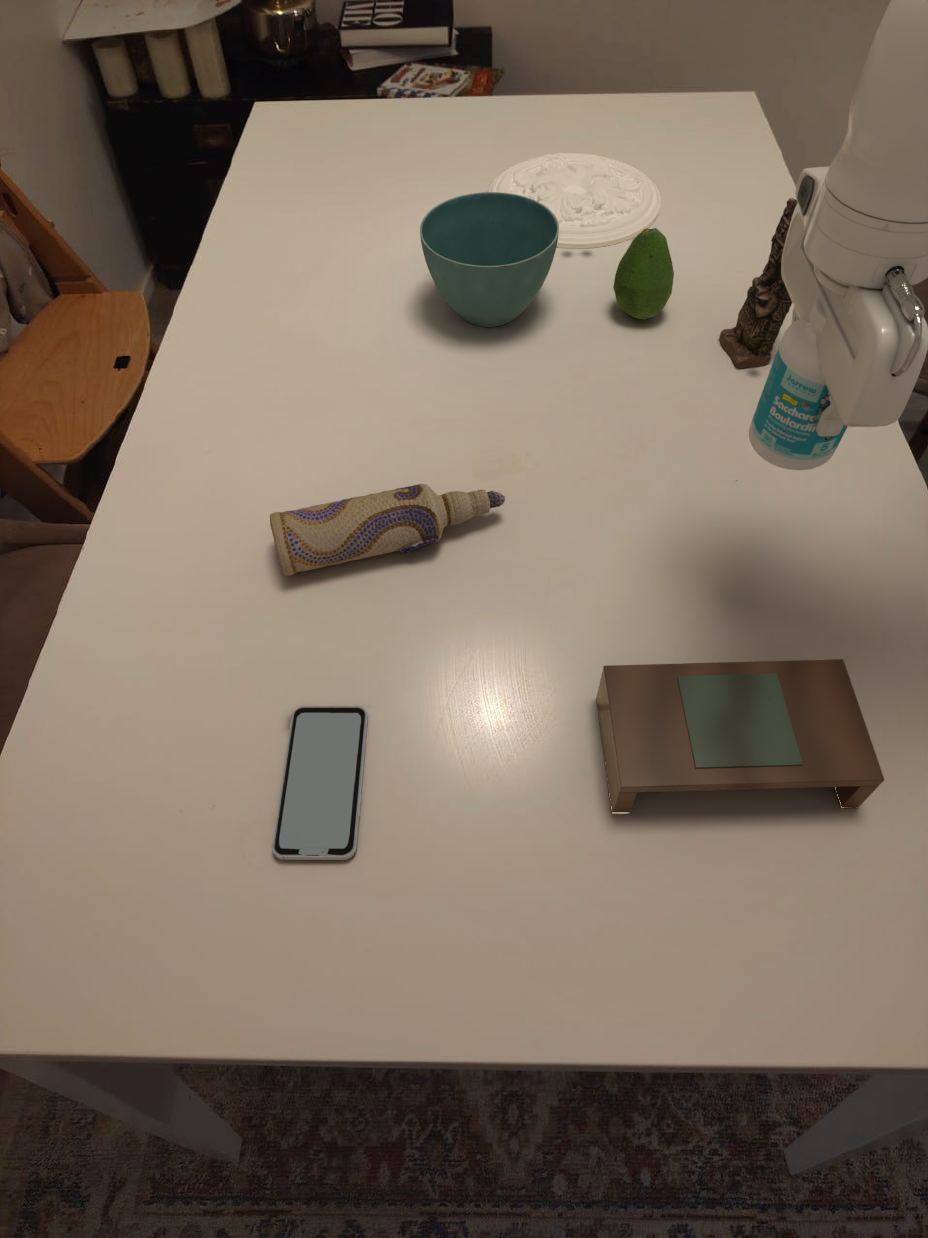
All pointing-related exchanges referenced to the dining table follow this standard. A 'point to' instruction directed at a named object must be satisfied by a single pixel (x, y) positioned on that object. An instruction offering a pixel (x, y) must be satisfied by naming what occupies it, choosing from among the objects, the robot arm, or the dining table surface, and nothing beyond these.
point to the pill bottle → (794, 402)
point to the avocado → (644, 275)
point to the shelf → (734, 729)
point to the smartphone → (321, 784)
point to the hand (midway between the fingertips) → (810, 393)
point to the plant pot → (489, 253)
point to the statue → (762, 306)
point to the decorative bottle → (371, 525)
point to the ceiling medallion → (586, 196)
